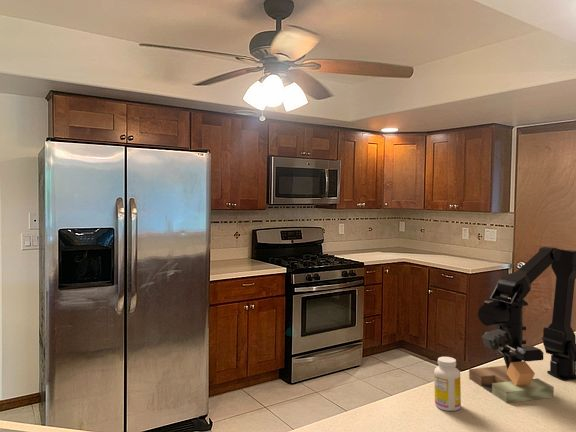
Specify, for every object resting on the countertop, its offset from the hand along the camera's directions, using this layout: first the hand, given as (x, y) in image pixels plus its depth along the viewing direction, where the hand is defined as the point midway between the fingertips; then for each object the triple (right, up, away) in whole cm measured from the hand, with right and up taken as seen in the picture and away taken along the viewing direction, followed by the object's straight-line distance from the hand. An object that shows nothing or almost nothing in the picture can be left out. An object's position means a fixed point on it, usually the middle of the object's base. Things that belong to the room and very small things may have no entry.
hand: (511, 374), depth 129 cm
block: (+1, -1, -2) cm, 3 cm away
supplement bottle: (-22, -5, -10) cm, 25 cm away
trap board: (0, -4, +1) cm, 5 cm away
